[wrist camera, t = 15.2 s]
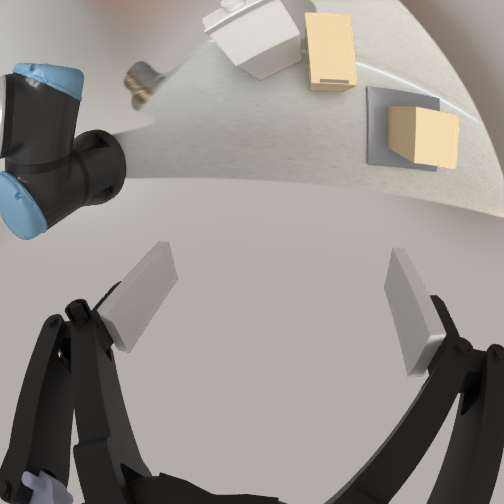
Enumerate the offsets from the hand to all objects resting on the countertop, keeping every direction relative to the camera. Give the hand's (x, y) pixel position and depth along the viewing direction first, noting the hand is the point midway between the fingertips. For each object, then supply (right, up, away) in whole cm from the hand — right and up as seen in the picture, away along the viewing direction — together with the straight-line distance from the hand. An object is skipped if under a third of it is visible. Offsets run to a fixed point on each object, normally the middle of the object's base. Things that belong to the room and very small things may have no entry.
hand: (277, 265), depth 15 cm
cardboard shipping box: (+9, +28, +16) cm, 33 cm away
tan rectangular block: (+21, +19, +17) cm, 33 cm away
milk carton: (+1, +30, +16) cm, 34 cm away
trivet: (+21, +19, +18) cm, 34 cm away
